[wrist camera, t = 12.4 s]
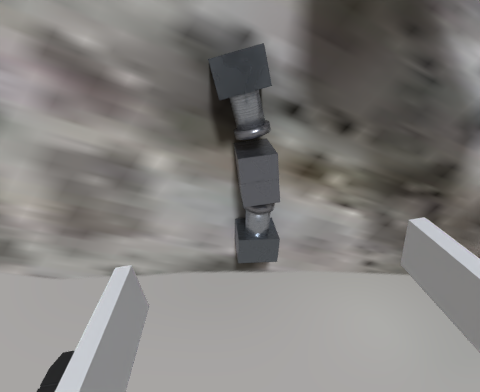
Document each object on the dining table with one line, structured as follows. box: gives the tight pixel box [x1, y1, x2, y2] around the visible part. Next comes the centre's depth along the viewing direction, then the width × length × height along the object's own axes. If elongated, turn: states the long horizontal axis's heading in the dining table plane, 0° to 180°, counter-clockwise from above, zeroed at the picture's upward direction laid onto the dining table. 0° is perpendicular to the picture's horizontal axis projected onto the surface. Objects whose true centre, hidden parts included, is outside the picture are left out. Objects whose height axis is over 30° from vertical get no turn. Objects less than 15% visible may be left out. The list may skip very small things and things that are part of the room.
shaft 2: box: [235, 203, 280, 263], centre depth 34 cm, size 8×5×5 cm, turn 178°
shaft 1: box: [208, 43, 272, 140], centre depth 27 cm, size 8×5×5 cm, turn 14°
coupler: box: [234, 139, 280, 207], centre depth 30 cm, size 6×4×6 cm
